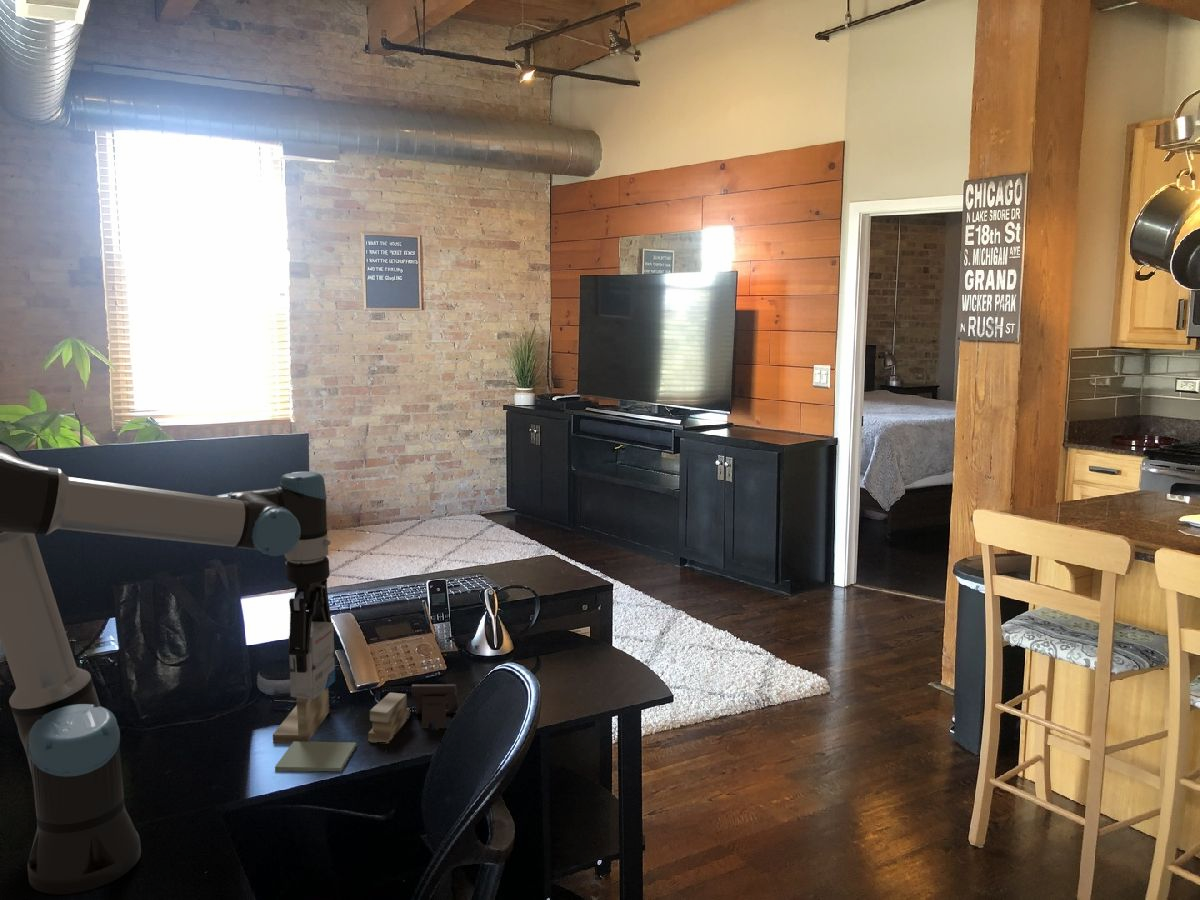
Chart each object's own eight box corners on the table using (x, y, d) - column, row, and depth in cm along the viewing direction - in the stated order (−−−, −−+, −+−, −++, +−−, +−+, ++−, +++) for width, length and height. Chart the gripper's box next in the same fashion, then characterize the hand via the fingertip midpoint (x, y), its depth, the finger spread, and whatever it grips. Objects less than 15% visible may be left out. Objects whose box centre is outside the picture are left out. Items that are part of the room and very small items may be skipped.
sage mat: (340, 772, 177) (340, 767, 177) (275, 770, 177) (274, 766, 177) (356, 746, 187) (356, 742, 186) (293, 745, 187) (293, 741, 187)
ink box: (312, 679, 184) (309, 619, 182) (337, 681, 183) (334, 621, 181) (289, 697, 176) (286, 635, 174) (315, 700, 175) (312, 637, 173)
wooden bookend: (307, 743, 188) (303, 663, 185) (273, 742, 188) (268, 663, 186) (329, 711, 202) (325, 637, 199) (297, 711, 202) (293, 637, 199)
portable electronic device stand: (460, 711, 202) (459, 673, 201) (456, 728, 194) (455, 689, 193) (417, 712, 202) (416, 673, 201) (411, 729, 194) (410, 689, 193)
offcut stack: (389, 744, 188) (388, 715, 187) (367, 742, 189) (366, 713, 188) (410, 717, 200) (410, 689, 199) (390, 716, 200) (389, 688, 199)
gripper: (308, 575, 165) (314, 702, 168) (345, 542, 186) (350, 654, 190) (263, 575, 165) (271, 701, 169) (306, 542, 186) (312, 654, 190)
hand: (313, 676), depth 179 cm, fingers closed on ink box, 9 cm apart
